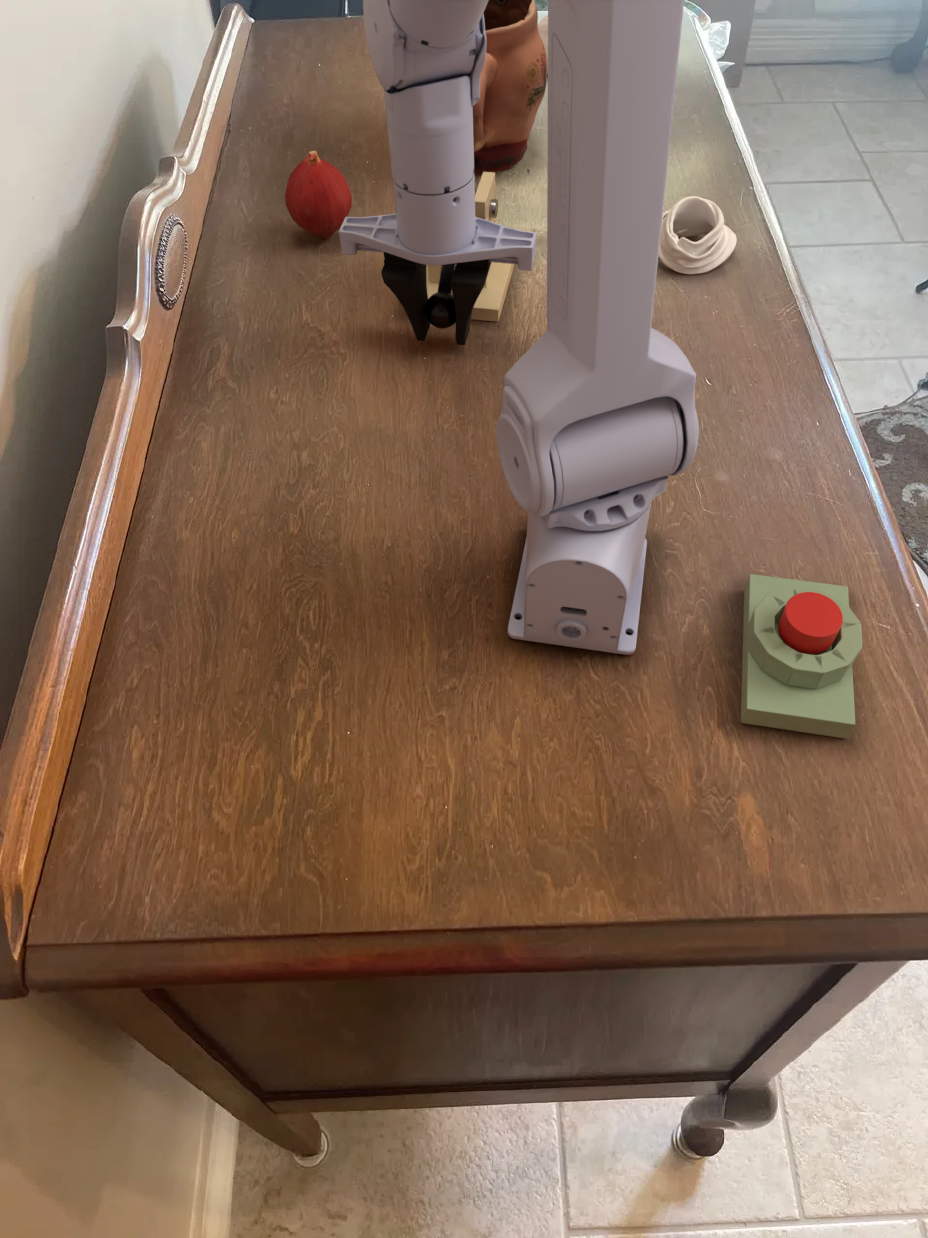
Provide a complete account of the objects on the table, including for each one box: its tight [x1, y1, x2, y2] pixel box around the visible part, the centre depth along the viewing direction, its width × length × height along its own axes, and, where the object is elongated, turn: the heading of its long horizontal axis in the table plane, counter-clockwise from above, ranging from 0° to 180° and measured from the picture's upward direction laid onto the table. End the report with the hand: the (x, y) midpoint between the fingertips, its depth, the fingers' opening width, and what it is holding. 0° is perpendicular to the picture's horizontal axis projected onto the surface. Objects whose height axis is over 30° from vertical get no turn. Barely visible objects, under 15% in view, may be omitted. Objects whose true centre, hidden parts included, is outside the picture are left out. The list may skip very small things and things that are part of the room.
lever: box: [425, 188, 477, 330], centre depth 74 cm, size 12×3×3 cm, turn 169°
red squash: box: [284, 150, 353, 240], centre depth 81 cm, size 6×6×8 cm
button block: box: [740, 573, 863, 740], centre depth 55 cm, size 10×6×4 cm, turn 169°
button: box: [778, 592, 843, 654], centre depth 53 cm, size 3×3×2 cm
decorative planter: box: [473, 0, 548, 175], centre depth 86 cm, size 20×12×14 cm, turn 3°
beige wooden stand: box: [426, 172, 516, 323], centre depth 76 cm, size 10×8×9 cm
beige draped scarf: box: [658, 195, 738, 275], centre depth 80 cm, size 8×7×5 cm
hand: (443, 335), depth 75 cm, fingers closed on lever, 3 cm apart
